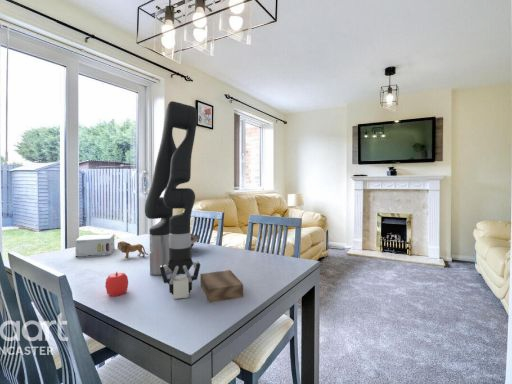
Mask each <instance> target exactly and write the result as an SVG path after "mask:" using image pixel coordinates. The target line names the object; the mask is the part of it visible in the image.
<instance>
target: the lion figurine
mask: <svg viewBox="0 0 512 384" xmlns="http://www.w3.org/2000/svg"><path fill="white" fill-rule="evenodd" d="M117 250H118V251H120V252H121V253H122V254H123V253H124V254H125V256H124V258H125V259H126V258H127V259H128V258H129V257H130V255H129V254H130V253H134V252H136V251H138V252H139V253H138V254H137V257H140V256H141V257H142V258H145V256H148V254H149V253H147V252H146V250H145V247H144V245H143V244H140V243H136V244H131V243H129V242H126V241H119V242H117Z"/></svg>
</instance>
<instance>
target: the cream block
mask: <svg viewBox="0 0 512 384" xmlns="http://www.w3.org/2000/svg"><path fill="white" fill-rule="evenodd" d="M189 293H190V292H189V287H188V278H187V276H186V275H176V276H175V279H174V281H173V295H172V296H173V300H178V299H186V298H189V295H190V294H189Z"/></svg>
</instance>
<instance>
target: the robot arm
mask: <svg viewBox="0 0 512 384" xmlns="http://www.w3.org/2000/svg"><path fill="white" fill-rule="evenodd" d="M164 114H165V115H164V119H163V120H164V121H163V129H162V135H161V141H160V145H159V149H158V152H157V155H156V156H157V157H156V160H155V164H154V171H153V175H152V181H151V185H150V187H149V190H148V194H147V196H146V199H145V205H144V213H145V216H146V217H147V219H149V220H154V219H155V220H156V219H160V220H159V222H158V223H156V224H155V225H152V226H150V228H149V275H150V276H153V275H154V276H161V278H162V282H163V283H164V284H168V286H169V289H168V290H169V294H171V295H172V296H173V281H174V279H175V277H177V276H180V275H185V276H187V278H188V287H189V293H191V291H192V290H193V281H197V280H198V277H199V272H200V268H201V262H200V261H193V260H192V248H191V234H192V233H191V218H192V217H191V216H192V212H193V208H194V205H195V201H196V194H195V192H194V190H193V189H192V188H189V187H187V188H186V187H183V188H182V187H180V188H178V186H179V185H182V184H186V183H189V182H190V180H191V176H192V175H191V172H192V168H191V167H192V156H193V155H192V154H193V149H194V143H195V137H196V130H197V124H198V111H197V109H196V107H195V106H191V105H188V104H186V103H182V102H178V101H173V100H172V101H169V102H168V104H167V106H166V110H165V113H164ZM174 128H175V129H179V130H184V131H185V136H184V138H183V140H182V142H181V143H180V145H178V147H177V146H176V144H175V140H174V136H173V130H174ZM163 192H164V193H163ZM162 194H163V196H161V195H162ZM174 209H177V210H178V209H184V210H183V212H182V213H179V214H176V215H175V214H174ZM191 267H193V268H194V270H193V274H192V275H191V274H190V269H191ZM170 273H171V274H170ZM167 274H170V277H169V278H168V275H167Z"/></svg>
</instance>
